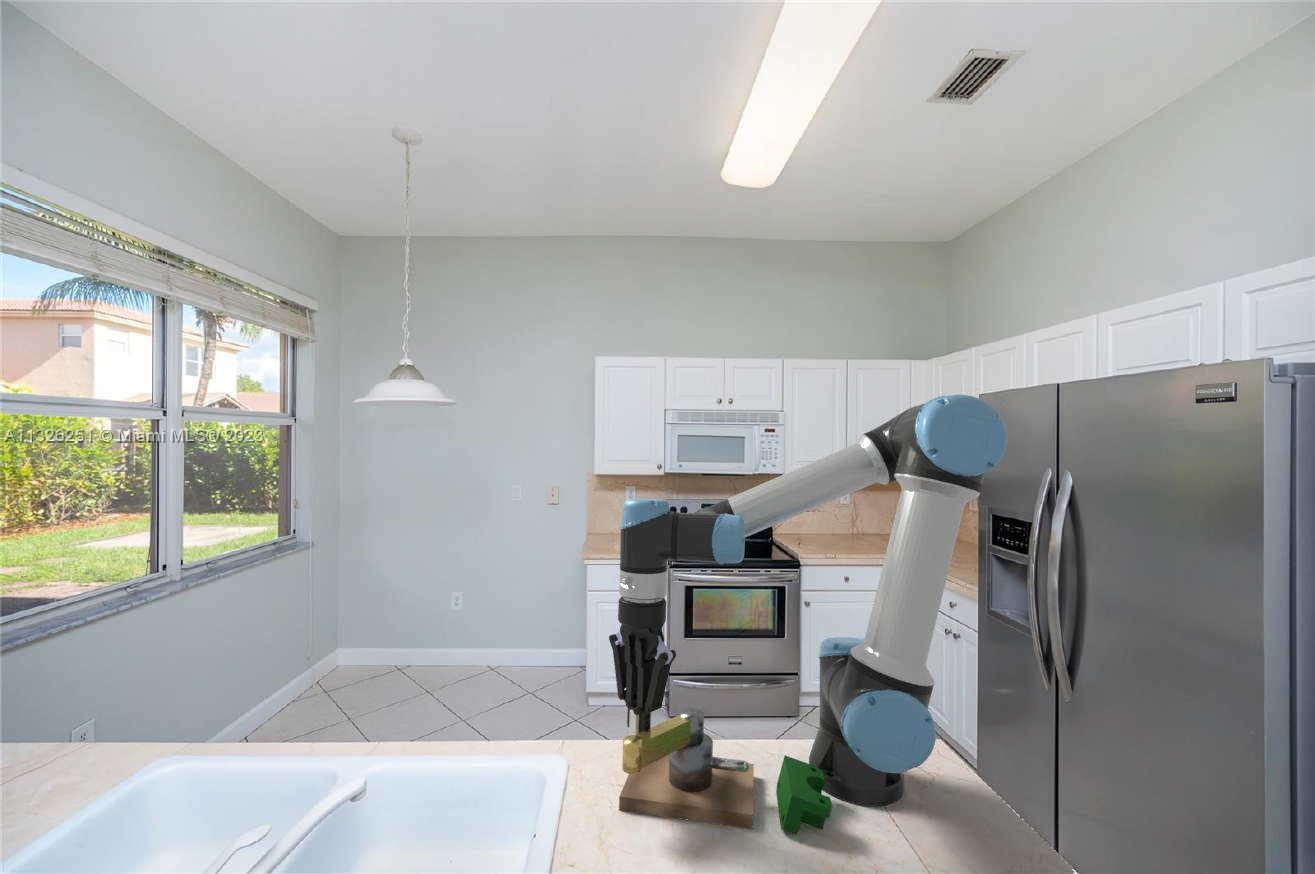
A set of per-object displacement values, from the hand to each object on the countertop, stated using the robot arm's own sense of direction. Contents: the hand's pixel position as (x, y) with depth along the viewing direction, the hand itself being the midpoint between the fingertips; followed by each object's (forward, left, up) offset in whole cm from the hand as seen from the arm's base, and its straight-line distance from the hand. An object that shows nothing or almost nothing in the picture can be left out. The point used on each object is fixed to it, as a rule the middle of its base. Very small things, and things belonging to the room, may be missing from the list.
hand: (637, 751), depth 83 cm
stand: (-8, -5, -8) cm, 12 cm away
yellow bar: (-4, 0, 0) cm, 4 cm away
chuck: (-11, -5, -6) cm, 13 cm away
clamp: (-25, -3, -8) cm, 27 cm away
